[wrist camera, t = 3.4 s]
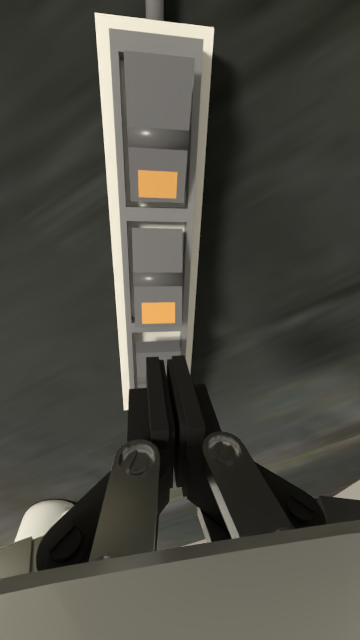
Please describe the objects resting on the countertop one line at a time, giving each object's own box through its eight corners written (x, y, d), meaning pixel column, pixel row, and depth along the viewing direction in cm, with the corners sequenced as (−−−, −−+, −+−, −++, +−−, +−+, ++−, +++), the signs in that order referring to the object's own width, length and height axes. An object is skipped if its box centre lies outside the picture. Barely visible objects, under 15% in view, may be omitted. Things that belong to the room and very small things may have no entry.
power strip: (210, -52, 18) (229, -115, 14) (184, 388, 35) (190, 413, 31) (93, -72, 17) (80, -145, 13) (125, 392, 34) (123, 418, 30)
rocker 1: (190, 60, 17) (195, 57, 15) (181, 196, 22) (184, 203, 20) (124, 53, 16) (123, 49, 15) (131, 194, 21) (130, 201, 20)
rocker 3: (178, 338, 26) (181, 353, 24) (174, 389, 31) (175, 402, 29) (136, 340, 25) (135, 354, 24) (138, 391, 30) (138, 405, 29)
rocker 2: (180, 230, 23) (183, 228, 21) (179, 322, 25) (182, 326, 23) (132, 230, 22) (131, 227, 21) (135, 323, 24) (134, 328, 23)
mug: (107, 500, 43) (98, 588, 34) (58, 534, 46) (37, 626, 36) (63, 479, 40) (39, 571, 30) (12, 517, 42) (-24, 614, 33)
